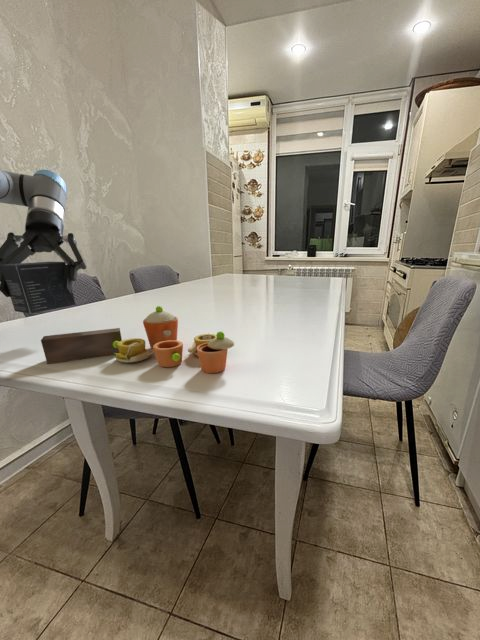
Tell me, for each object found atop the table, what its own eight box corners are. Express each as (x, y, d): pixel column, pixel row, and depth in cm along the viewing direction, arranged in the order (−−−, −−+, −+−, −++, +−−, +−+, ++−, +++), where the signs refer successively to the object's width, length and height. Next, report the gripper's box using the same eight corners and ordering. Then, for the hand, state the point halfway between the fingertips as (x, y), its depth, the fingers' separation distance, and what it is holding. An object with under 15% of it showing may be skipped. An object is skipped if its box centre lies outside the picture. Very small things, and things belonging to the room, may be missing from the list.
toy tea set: (103, 363, 58) (94, 316, 55) (152, 340, 72) (147, 301, 69) (221, 380, 51) (219, 327, 48) (251, 351, 65) (250, 308, 62)
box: (60, 303, 75) (50, 261, 71) (77, 305, 72) (67, 261, 68) (12, 311, 66) (-2, 263, 62) (29, 314, 63) (15, 264, 59)
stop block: (47, 364, 58) (40, 340, 56) (49, 358, 60) (43, 336, 59) (124, 353, 64) (120, 331, 62) (123, 348, 66) (119, 327, 65)
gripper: (101, 233, 80) (100, 299, 71) (-2, 232, 74) (-17, 304, 65) (93, 210, 73) (90, 279, 65) (-21, 207, 67) (-41, 283, 59)
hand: (36, 292), depth 65 cm, fingers closed on box, 11 cm apart
